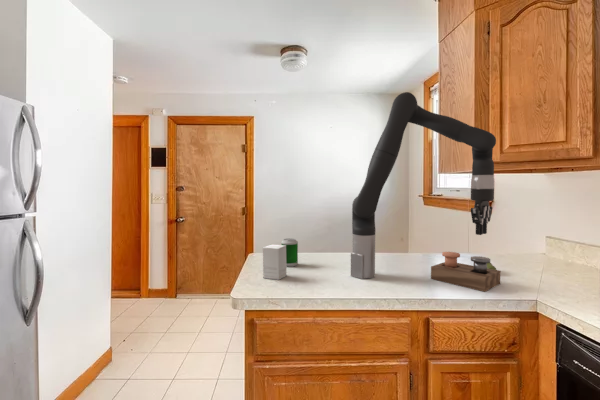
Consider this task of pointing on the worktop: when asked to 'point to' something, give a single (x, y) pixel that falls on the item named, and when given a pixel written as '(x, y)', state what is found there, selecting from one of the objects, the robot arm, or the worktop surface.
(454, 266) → the tan round knob
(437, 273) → the brown wooden block
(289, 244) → the soda can
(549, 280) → the worktop surface
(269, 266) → the supplement box
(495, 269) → the pear
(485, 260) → the grey knob
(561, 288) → the worktop surface
